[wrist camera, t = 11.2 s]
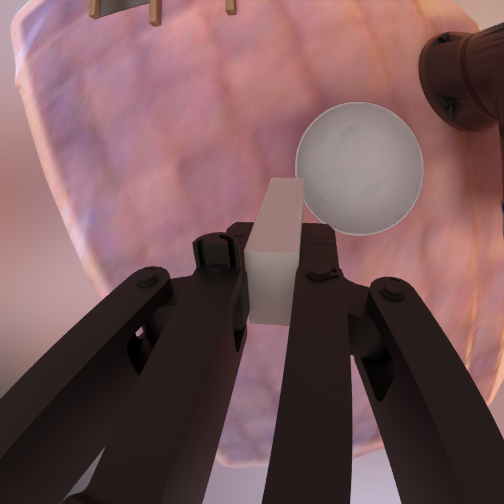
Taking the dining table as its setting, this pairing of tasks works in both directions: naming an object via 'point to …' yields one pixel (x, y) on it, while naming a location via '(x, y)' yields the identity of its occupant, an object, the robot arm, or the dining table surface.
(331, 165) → the chinaware
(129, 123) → the dining table surface
